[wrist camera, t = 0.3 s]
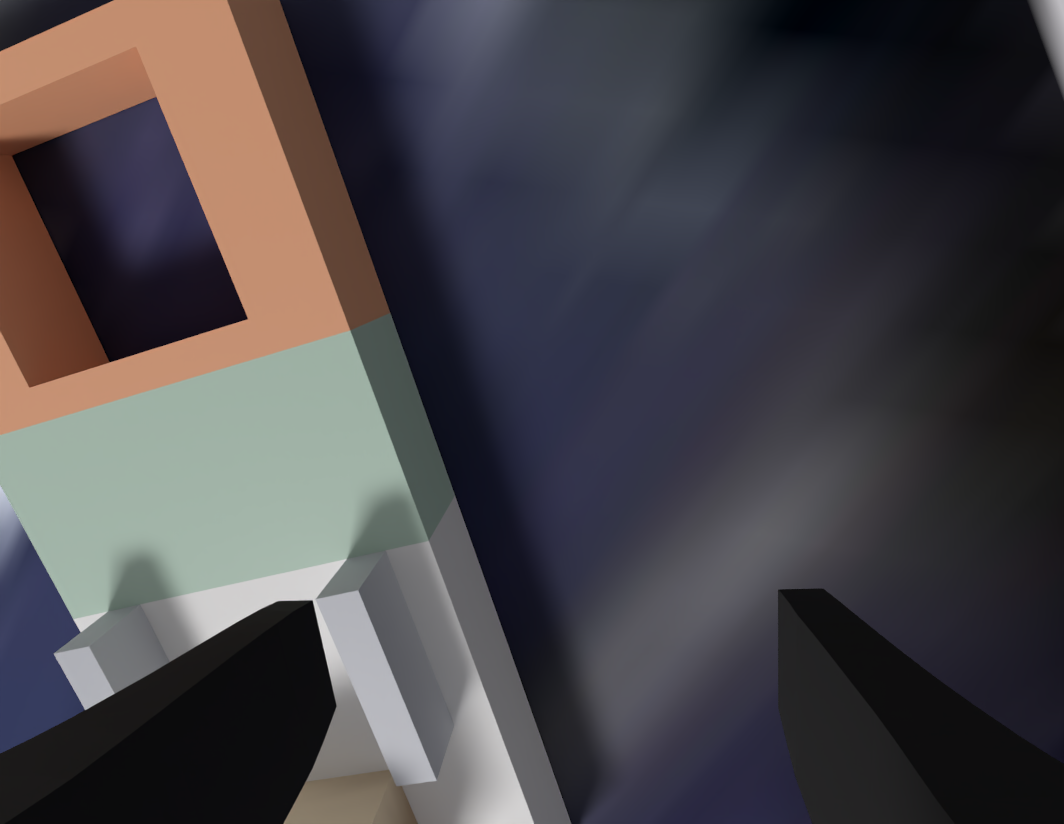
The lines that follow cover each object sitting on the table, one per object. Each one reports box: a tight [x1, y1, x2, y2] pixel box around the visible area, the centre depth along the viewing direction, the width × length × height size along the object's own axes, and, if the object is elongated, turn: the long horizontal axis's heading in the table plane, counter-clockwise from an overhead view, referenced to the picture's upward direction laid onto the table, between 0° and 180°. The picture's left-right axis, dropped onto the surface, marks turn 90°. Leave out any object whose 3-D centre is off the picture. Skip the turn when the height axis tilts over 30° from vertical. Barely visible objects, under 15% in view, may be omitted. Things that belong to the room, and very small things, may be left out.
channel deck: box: [0, 0, 571, 824], centre depth 19 cm, size 28×12×5 cm, turn 17°
